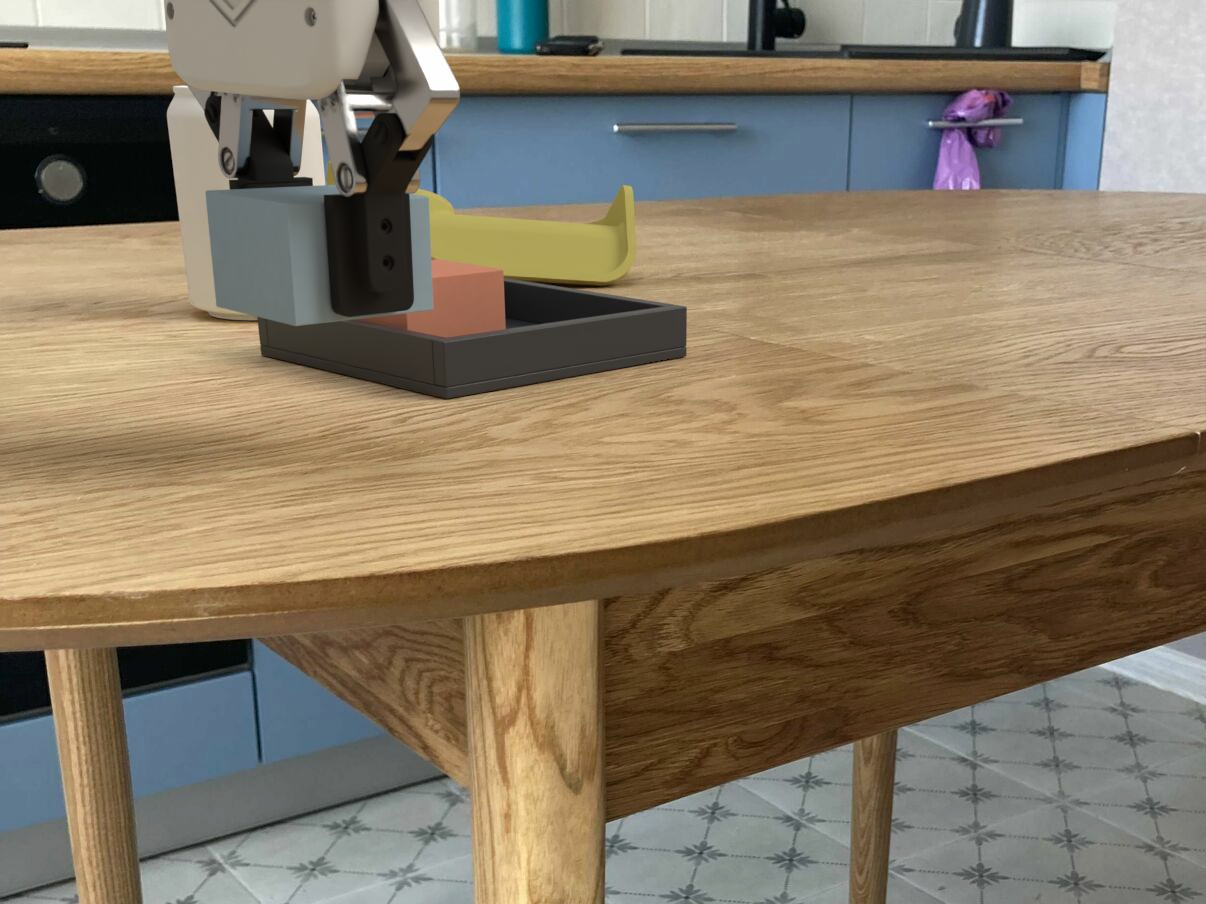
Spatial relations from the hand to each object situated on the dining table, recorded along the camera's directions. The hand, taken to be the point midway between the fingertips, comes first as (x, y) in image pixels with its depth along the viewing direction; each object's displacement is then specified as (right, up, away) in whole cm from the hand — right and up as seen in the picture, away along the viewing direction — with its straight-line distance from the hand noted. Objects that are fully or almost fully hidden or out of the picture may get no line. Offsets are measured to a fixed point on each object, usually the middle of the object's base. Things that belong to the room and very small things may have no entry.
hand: (325, 296), depth 56 cm
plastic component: (-2, +16, +49) cm, 52 cm away
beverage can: (-12, +9, +33) cm, 36 cm away
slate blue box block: (0, 0, 0) cm, 0 cm away
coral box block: (0, +3, +19) cm, 19 cm away
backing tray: (+2, +3, +22) cm, 22 cm away
